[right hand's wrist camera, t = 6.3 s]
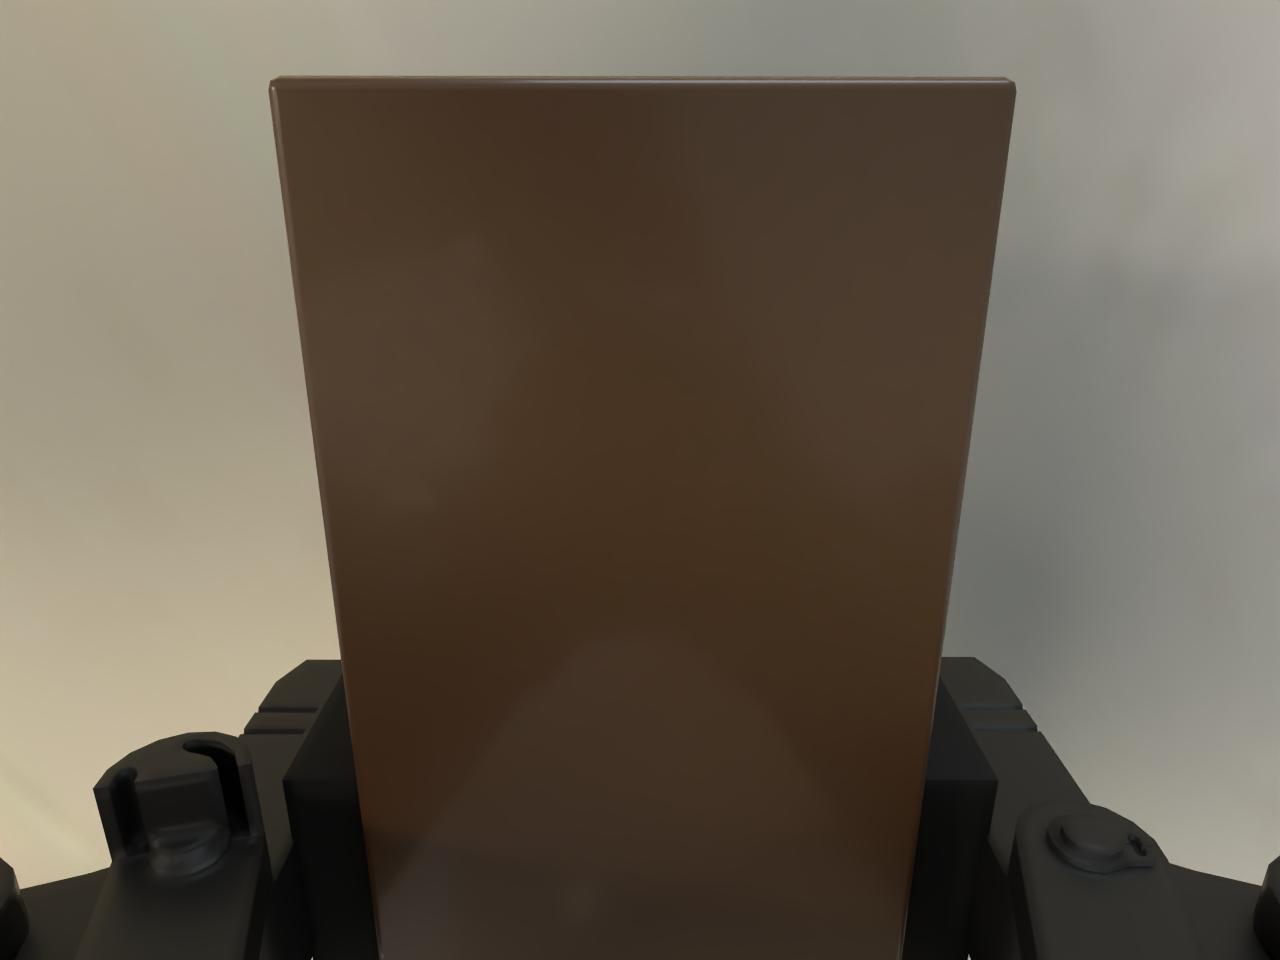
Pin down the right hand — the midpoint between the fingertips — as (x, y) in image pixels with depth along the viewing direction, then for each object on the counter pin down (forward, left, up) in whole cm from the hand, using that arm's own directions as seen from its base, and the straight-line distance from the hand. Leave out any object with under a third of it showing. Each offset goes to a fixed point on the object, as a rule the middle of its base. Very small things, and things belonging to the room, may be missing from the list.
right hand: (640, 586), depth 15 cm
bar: (+9, -29, -1) cm, 30 cm away
